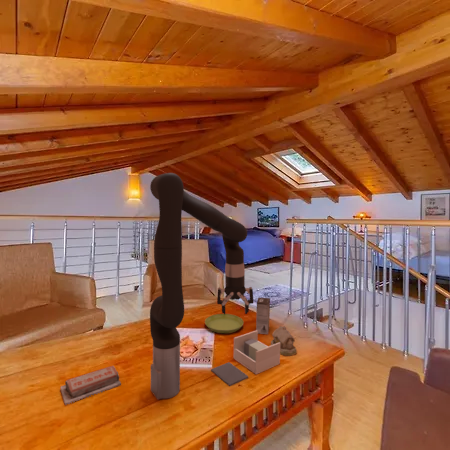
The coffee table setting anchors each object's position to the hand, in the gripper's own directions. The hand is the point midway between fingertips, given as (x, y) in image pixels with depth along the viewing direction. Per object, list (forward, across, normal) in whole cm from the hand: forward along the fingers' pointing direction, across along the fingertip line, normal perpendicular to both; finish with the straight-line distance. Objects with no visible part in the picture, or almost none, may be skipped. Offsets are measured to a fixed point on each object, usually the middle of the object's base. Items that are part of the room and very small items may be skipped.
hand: (235, 313), depth 115 cm
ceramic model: (+24, +23, +15) cm, 37 cm away
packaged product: (+21, -52, -15) cm, 58 cm away
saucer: (+24, -4, +37) cm, 45 cm away
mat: (+22, -3, -6) cm, 23 cm away
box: (+23, +9, +4) cm, 25 cm away
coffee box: (+24, +16, +33) cm, 44 cm away
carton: (+23, +9, +4) cm, 25 cm away
